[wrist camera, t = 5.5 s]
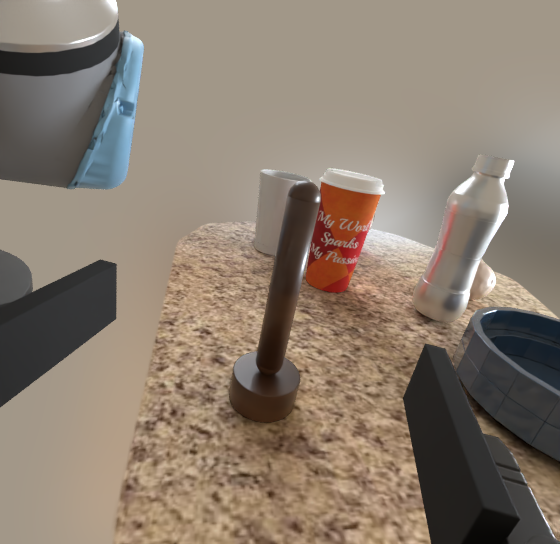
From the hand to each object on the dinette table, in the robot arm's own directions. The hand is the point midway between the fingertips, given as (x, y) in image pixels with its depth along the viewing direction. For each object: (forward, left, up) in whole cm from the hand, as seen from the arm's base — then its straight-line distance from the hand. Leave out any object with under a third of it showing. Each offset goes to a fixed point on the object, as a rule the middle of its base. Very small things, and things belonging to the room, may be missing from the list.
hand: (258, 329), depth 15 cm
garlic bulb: (-27, +40, -11) cm, 49 cm away
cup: (-41, +13, -11) cm, 44 cm away
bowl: (-5, +31, -11) cm, 33 cm away
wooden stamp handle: (-8, +4, -11) cm, 14 cm away
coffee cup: (-29, +18, -11) cm, 36 cm away
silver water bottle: (-21, +30, -11) cm, 38 cm away
